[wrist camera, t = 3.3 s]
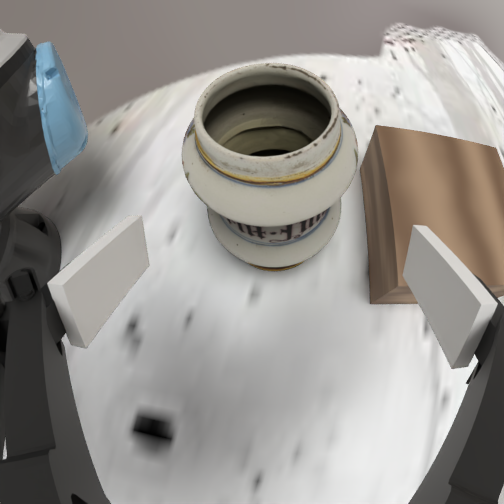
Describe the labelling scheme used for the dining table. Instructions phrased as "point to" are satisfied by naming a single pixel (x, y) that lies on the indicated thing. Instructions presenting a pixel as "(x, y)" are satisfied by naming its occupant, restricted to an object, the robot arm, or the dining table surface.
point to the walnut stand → (431, 206)
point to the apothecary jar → (270, 162)
